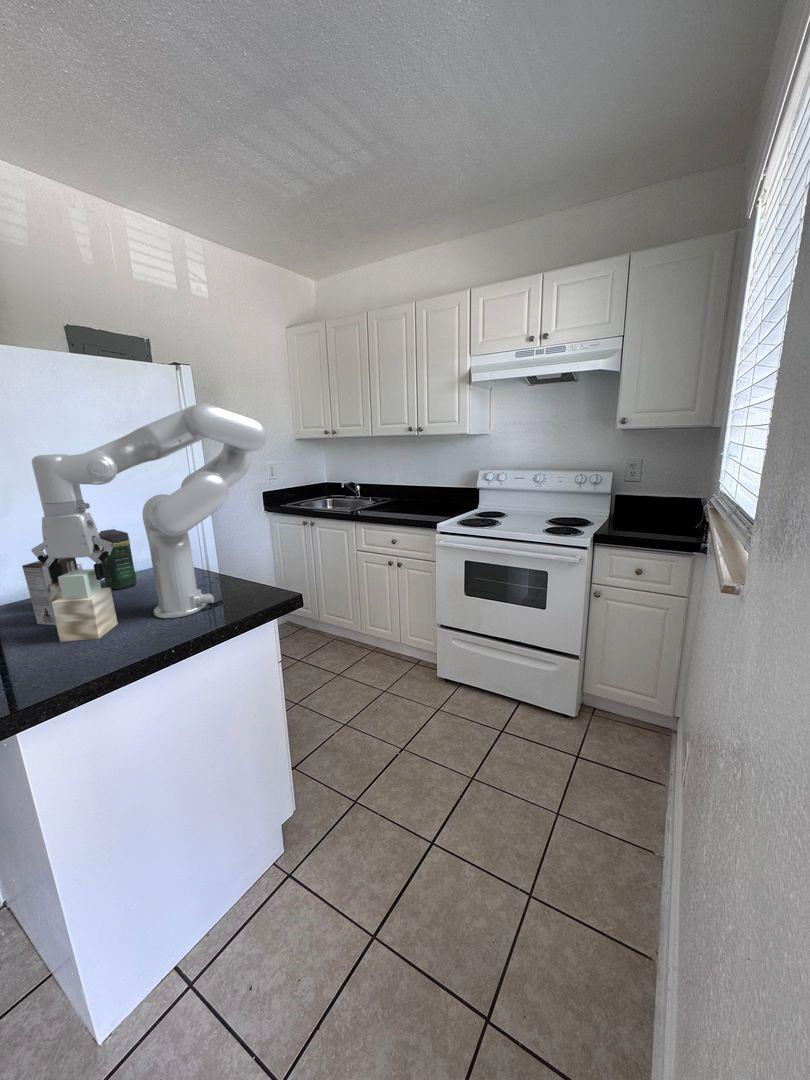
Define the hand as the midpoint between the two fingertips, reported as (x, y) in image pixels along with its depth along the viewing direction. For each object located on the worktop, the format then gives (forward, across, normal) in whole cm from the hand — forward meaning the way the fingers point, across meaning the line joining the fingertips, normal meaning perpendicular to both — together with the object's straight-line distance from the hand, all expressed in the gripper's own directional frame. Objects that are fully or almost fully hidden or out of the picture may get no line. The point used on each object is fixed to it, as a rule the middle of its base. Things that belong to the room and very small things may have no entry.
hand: (80, 579), depth 102 cm
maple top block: (+9, 0, 0) cm, 9 cm away
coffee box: (+14, +13, -11) cm, 22 cm away
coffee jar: (+14, +11, -37) cm, 41 cm away
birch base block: (+14, 0, 0) cm, 14 cm away
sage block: (+4, 0, 0) cm, 4 cm away
